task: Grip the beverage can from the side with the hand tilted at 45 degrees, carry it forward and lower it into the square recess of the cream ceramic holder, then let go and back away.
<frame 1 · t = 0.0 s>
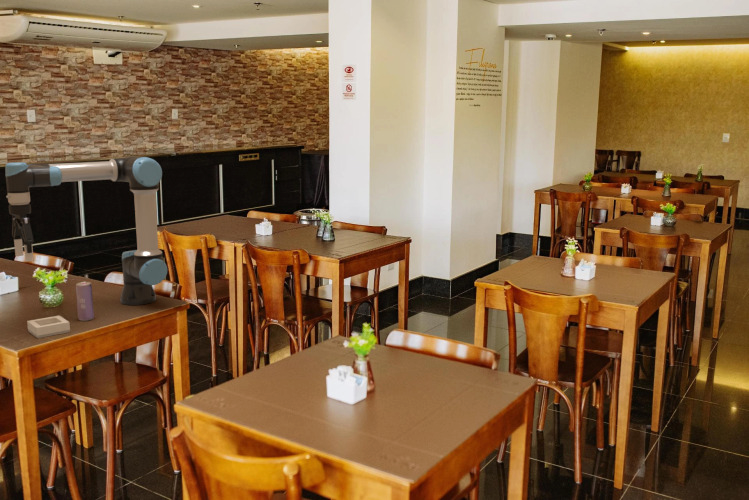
hand: (24, 258, 282), 28 cm above the table, tool pointing down, fingers open, 13 cm apart
beverage can: (86, 319, 300), on the table
holder: (49, 331, 284), on the table
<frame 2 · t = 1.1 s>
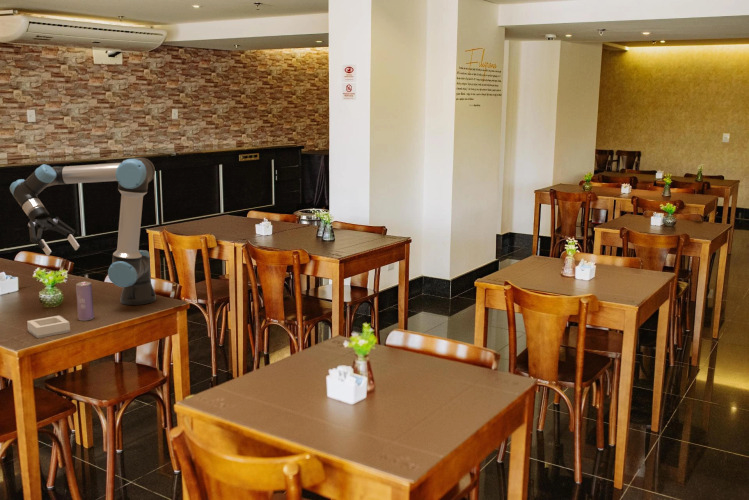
hand: (63, 250, 300), 27 cm above the table, tool tilted 45°, fingers open, 13 cm apart
nothing on the table moved.
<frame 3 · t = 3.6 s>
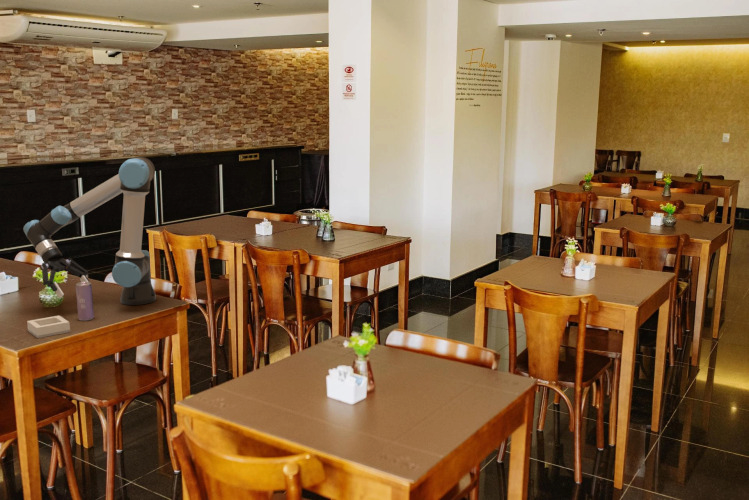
hand: (76, 292, 300), 11 cm above the table, tool tilted 45°, fingers open, 13 cm apart
nothing on the table moved.
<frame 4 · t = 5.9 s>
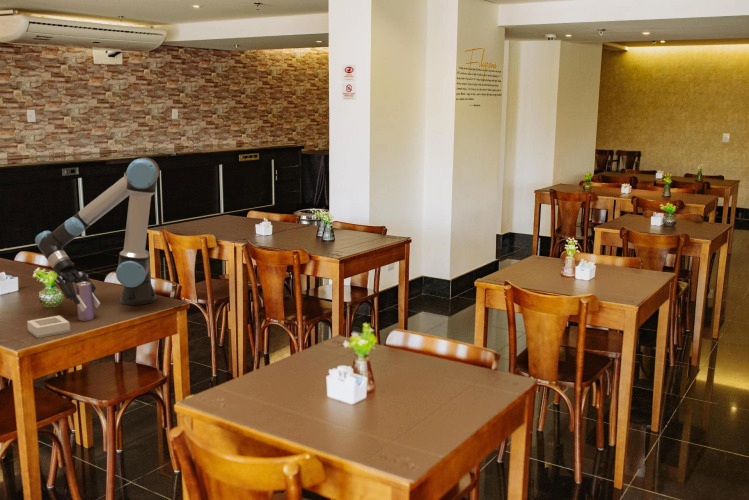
hand: (91, 307, 298), 5 cm above the table, tool tilted 45°, fingers closed on beverage can, 6 cm apart
beverage can: (86, 319, 301), on the table, touching gripper
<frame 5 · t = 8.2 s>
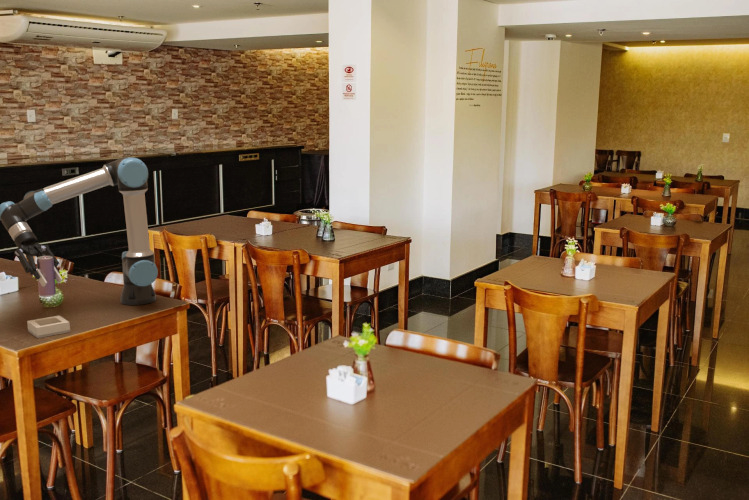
hand: (52, 283, 280), 19 cm above the table, tool tilted 45°, fingers closed on beverage can, 6 cm apart
beverage can: (47, 295, 283), point 14 cm above the table, touching gripper
when the fingers open (8 cm above the table, at t = 10.7 s): beverage can drops 1 cm, resting on holder.
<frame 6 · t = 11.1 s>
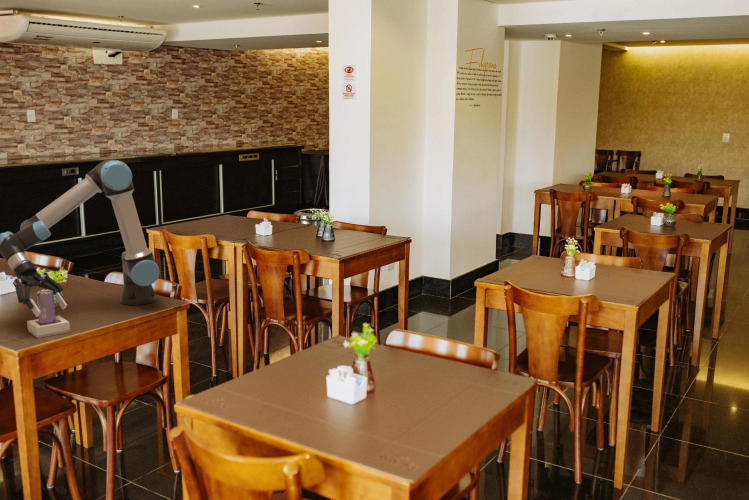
hand: (52, 310, 281), 9 cm above the table, tool tilted 45°, fingers open, 11 cm apart
beverage can: (48, 329, 283), point 1 cm above the table, touching holder
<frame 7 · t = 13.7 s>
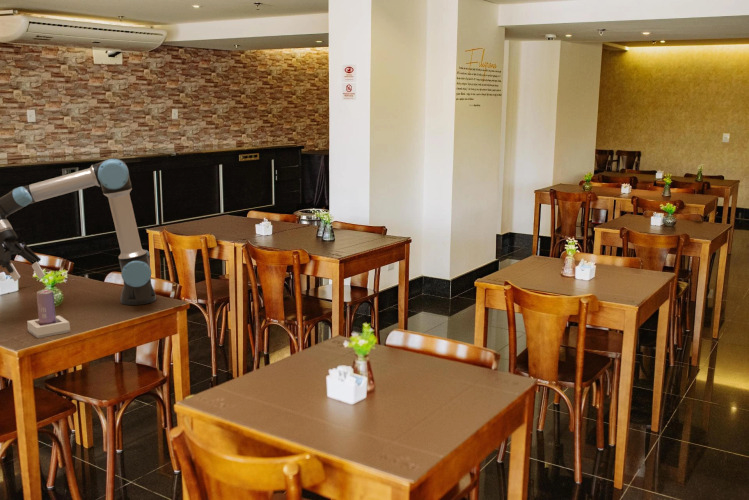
hand: (30, 278, 288), 19 cm above the table, tool tilted 40°, fingers open, 13 cm apart
nothing on the table moved.
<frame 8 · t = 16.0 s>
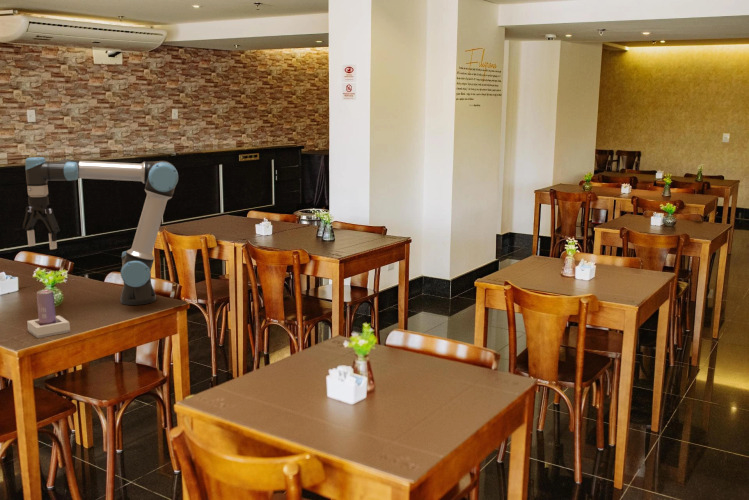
hand: (42, 247, 301), 29 cm above the table, tool pointing down, fingers open, 13 cm apart
nothing on the table moved.
at the end: beverage can 0.2 cm off-centre on the holder, point 0.8 cm above the holder's base; beverage can tilted 0°; the gripper is holding nothing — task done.
